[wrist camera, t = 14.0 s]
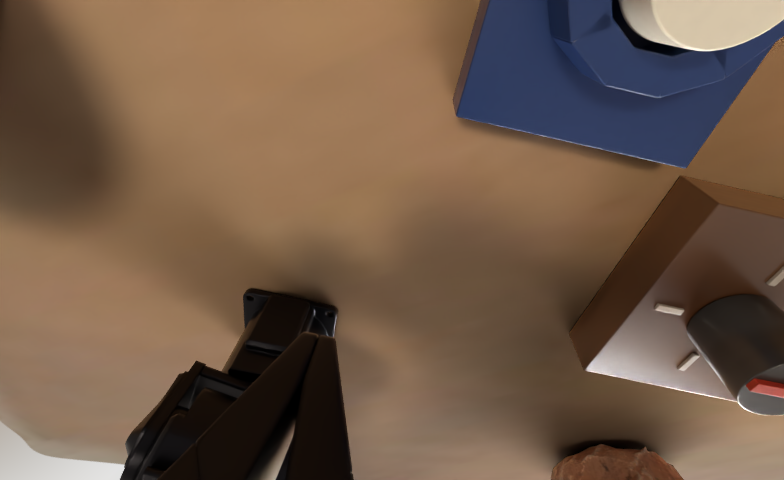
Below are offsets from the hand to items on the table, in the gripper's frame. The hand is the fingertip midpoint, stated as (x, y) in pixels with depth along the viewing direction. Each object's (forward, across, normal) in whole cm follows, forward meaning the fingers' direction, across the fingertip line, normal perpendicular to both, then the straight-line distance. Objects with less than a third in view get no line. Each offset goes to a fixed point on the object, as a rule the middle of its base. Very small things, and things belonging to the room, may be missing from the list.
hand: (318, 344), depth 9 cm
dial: (+9, -20, +3) cm, 22 cm away
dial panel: (+12, -20, +3) cm, 24 cm away
